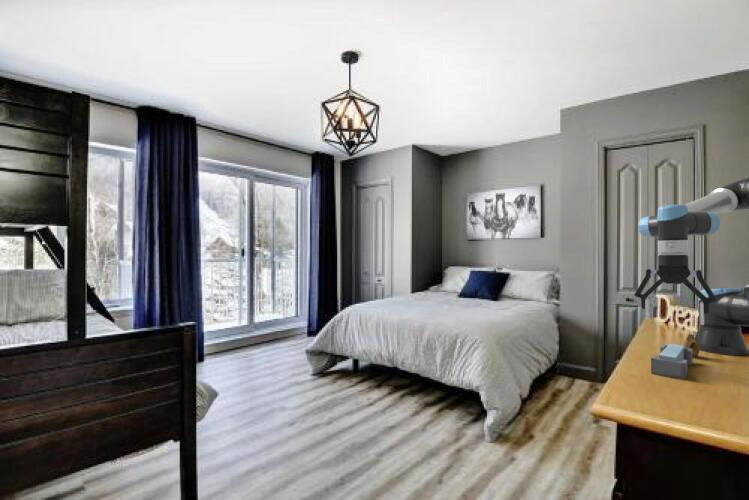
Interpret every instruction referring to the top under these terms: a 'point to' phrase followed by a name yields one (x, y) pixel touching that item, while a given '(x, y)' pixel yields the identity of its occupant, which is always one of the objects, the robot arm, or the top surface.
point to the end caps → (672, 365)
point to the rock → (692, 343)
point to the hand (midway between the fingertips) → (673, 321)
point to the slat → (673, 353)
